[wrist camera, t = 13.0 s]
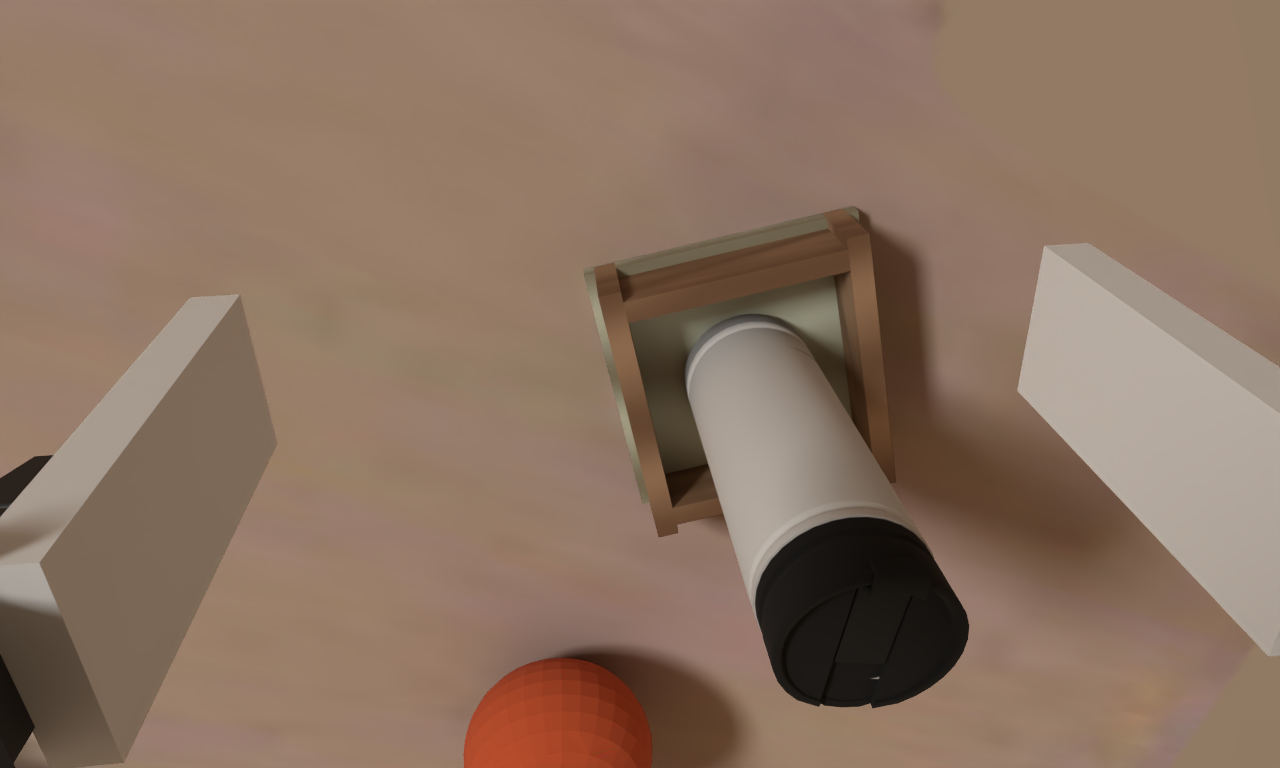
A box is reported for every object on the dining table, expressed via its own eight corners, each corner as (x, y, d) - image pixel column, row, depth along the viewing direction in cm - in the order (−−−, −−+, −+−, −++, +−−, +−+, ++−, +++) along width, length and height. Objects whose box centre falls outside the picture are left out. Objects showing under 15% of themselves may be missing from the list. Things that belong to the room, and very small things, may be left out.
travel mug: (822, 311, 45) (1009, 577, 27) (793, 429, 48) (944, 740, 30) (695, 299, 44) (802, 566, 26) (674, 420, 47) (757, 735, 29)
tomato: (489, 763, 57) (479, 918, 48) (452, 635, 52) (434, 781, 43) (653, 735, 57) (674, 884, 48) (631, 606, 53) (649, 744, 44)
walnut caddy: (583, 269, 44) (586, 300, 40) (853, 206, 44) (880, 230, 40) (641, 495, 49) (648, 539, 46) (879, 440, 49) (905, 480, 46)
